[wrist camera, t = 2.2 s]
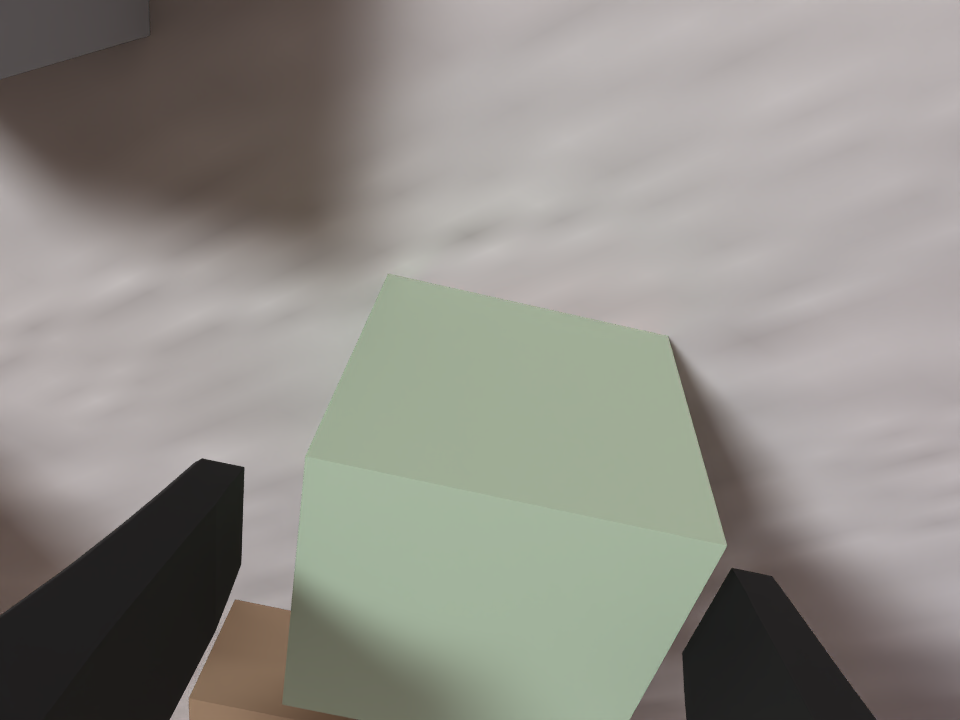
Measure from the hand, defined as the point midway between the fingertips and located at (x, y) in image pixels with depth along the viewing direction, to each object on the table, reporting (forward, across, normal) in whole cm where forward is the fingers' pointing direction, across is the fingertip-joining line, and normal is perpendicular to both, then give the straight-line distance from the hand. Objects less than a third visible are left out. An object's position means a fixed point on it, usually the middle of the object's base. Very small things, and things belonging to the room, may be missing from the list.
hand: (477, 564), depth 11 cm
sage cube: (+4, 0, 0) cm, 4 cm away
